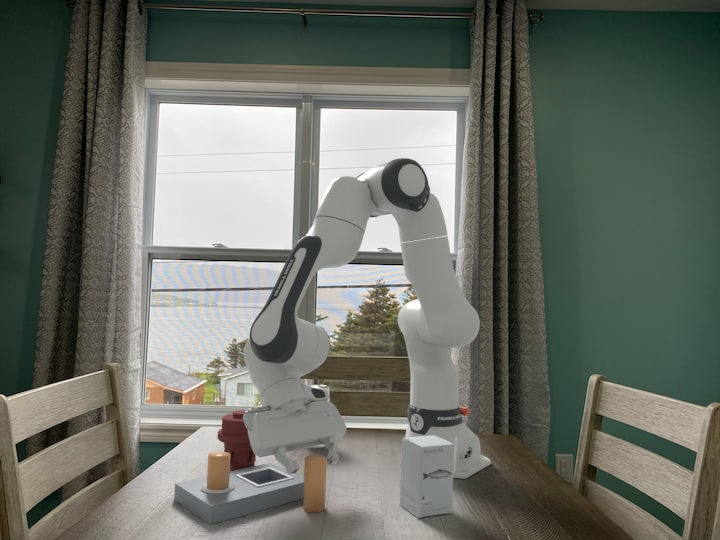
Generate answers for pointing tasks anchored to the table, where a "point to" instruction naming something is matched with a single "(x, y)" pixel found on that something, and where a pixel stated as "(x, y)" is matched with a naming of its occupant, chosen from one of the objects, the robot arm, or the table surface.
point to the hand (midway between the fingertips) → (315, 467)
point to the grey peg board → (237, 489)
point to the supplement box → (427, 475)
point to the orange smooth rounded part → (314, 483)
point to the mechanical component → (236, 441)
